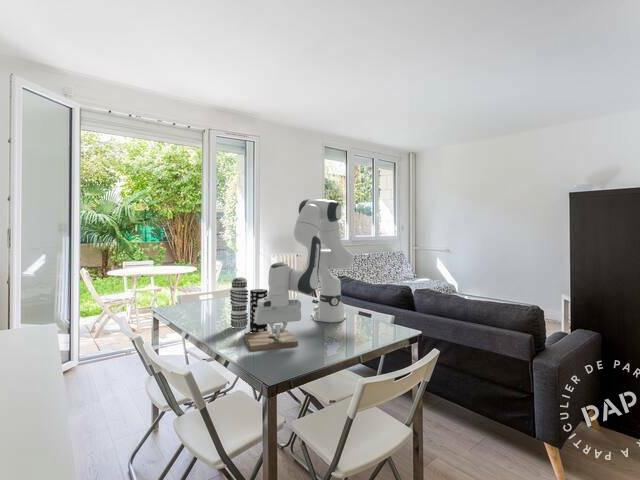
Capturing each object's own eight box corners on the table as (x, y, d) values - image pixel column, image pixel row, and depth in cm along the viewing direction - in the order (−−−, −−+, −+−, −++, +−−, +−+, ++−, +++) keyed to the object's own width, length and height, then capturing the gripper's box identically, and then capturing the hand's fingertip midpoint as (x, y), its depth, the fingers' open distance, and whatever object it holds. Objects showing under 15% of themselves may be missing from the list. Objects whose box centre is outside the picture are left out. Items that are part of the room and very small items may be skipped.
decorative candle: (230, 330, 173) (230, 279, 172) (229, 325, 182) (229, 277, 181) (248, 328, 175) (249, 278, 175) (247, 324, 184) (247, 276, 184)
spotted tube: (270, 330, 173) (270, 289, 173) (262, 334, 165) (262, 292, 165) (255, 328, 176) (255, 288, 176) (246, 332, 168) (246, 291, 168)
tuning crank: (268, 334, 157) (268, 321, 157) (277, 333, 159) (277, 320, 159) (273, 341, 148) (273, 326, 148) (283, 339, 150) (283, 325, 150)
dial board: (244, 337, 160) (244, 332, 160) (286, 333, 167) (286, 329, 167) (250, 350, 143) (250, 345, 143) (297, 345, 149) (297, 340, 149)
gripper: (298, 298, 157) (298, 328, 158) (253, 300, 149) (253, 333, 149) (303, 300, 152) (303, 332, 152) (257, 303, 143) (256, 337, 143)
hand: (278, 332), depth 150 cm, fingers open, 2 cm apart
